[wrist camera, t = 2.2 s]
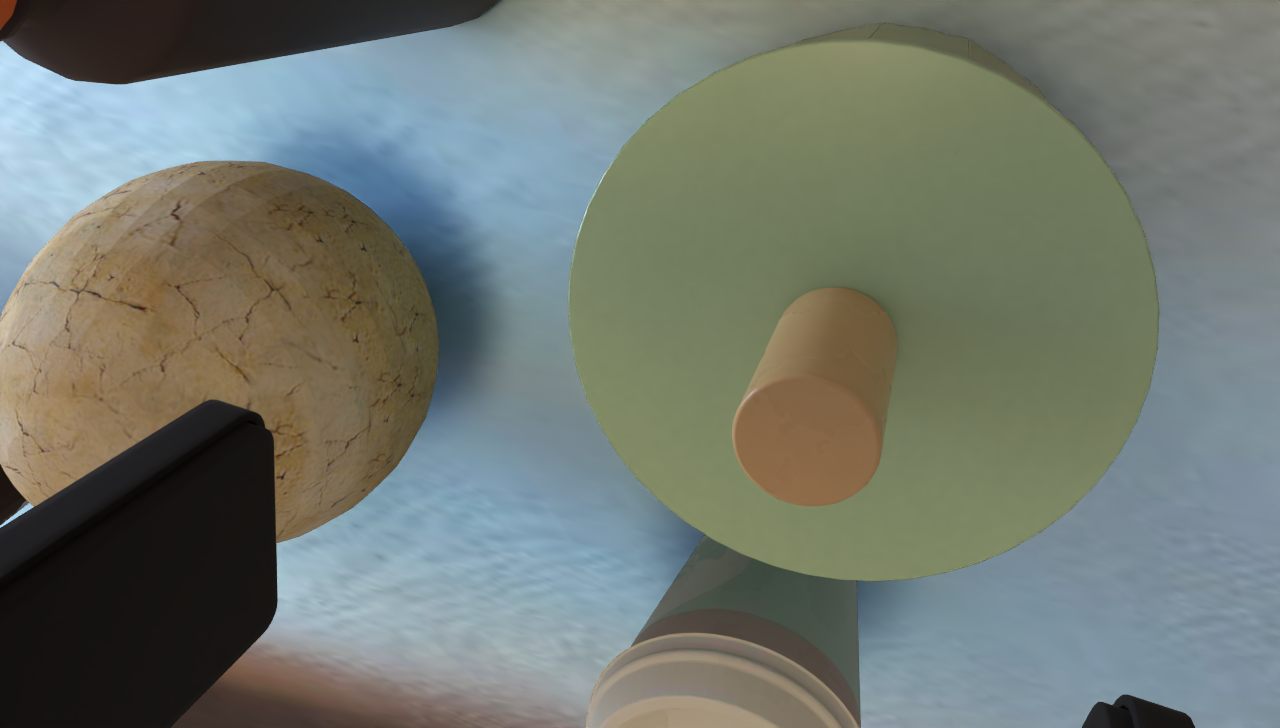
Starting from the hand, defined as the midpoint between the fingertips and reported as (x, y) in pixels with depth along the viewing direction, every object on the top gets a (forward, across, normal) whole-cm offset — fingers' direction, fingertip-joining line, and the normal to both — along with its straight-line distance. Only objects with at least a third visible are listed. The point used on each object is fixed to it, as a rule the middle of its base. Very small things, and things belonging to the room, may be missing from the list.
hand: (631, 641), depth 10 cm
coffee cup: (+23, -1, +15) cm, 27 cm away
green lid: (+13, -1, +1) cm, 13 cm away
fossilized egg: (+23, +18, +9) cm, 30 cm away
